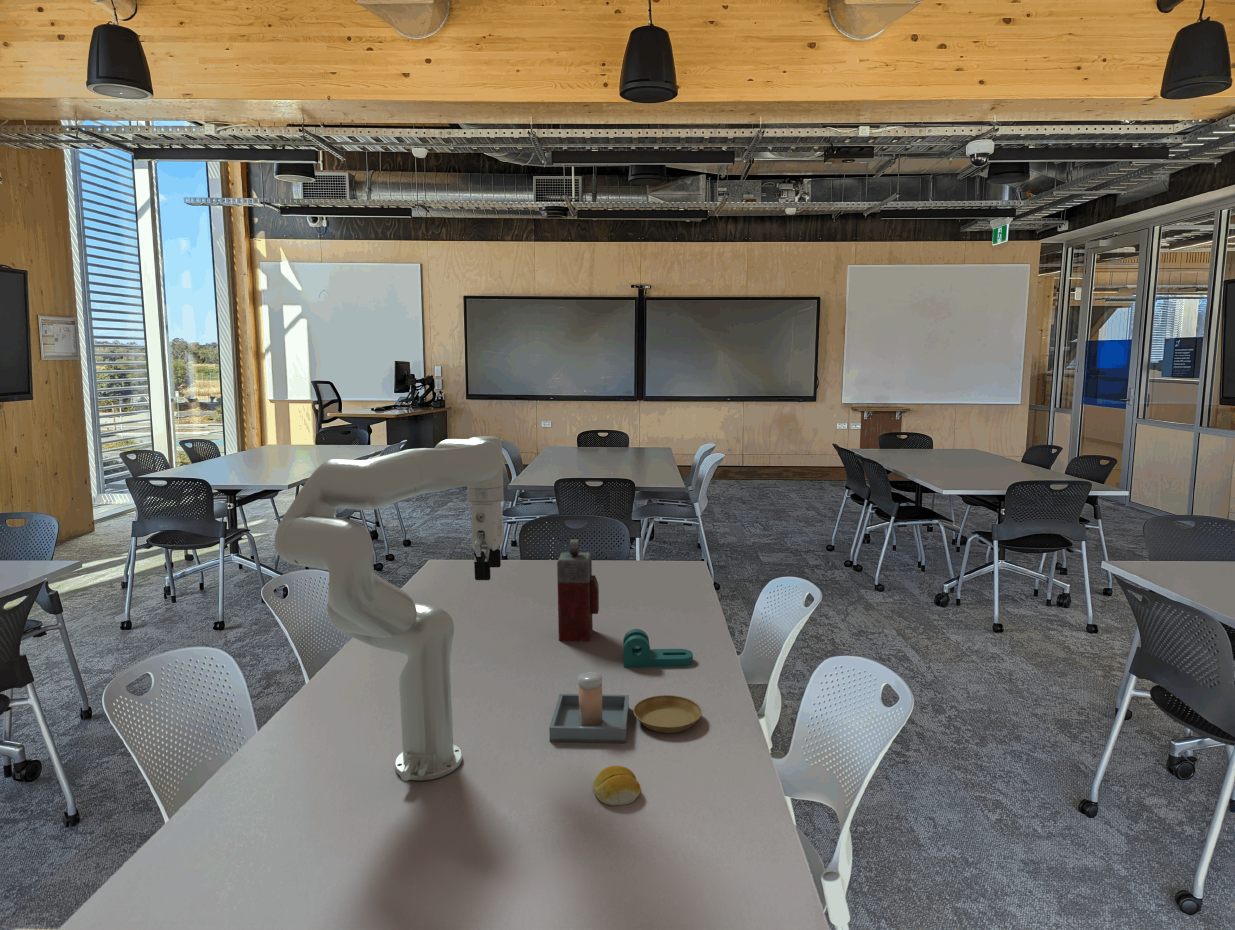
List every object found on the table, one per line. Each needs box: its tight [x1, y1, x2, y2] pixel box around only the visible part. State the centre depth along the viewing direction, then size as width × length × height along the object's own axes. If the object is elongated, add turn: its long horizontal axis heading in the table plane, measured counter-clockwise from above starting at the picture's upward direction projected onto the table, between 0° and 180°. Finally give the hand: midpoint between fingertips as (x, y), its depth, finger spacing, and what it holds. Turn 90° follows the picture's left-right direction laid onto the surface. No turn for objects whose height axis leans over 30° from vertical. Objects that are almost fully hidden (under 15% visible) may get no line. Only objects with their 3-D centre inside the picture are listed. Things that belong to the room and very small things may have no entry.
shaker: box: [577, 671, 603, 727], centre depth 155 cm, size 5×5×10 cm
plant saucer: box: [633, 694, 702, 734], centre depth 157 cm, size 15×15×3 cm
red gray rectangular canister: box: [556, 539, 600, 642], centre depth 206 cm, size 9×11×28 cm
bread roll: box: [592, 765, 642, 806], centre depth 130 cm, size 8×9×4 cm
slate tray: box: [548, 693, 630, 744], centre depth 155 cm, size 16×16×3 cm
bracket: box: [622, 628, 694, 668], centre depth 188 cm, size 18×7×8 cm, turn 91°
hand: (488, 573), depth 155 cm, fingers open, 9 cm apart
